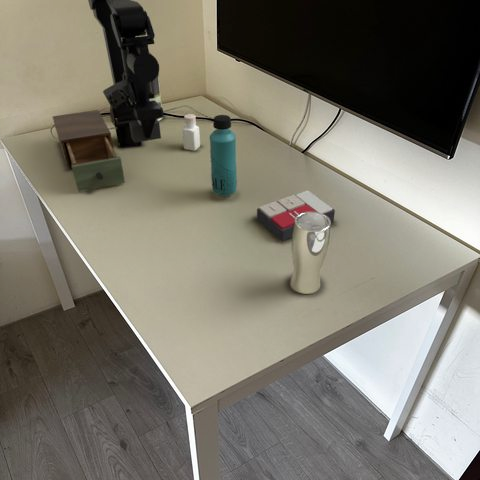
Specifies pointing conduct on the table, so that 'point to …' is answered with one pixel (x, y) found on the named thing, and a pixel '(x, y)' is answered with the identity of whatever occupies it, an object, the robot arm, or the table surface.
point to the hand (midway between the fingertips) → (146, 135)
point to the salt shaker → (191, 133)
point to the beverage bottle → (223, 157)
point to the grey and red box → (291, 213)
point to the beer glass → (309, 250)
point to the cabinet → (79, 129)
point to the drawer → (94, 163)
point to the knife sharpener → (138, 132)
